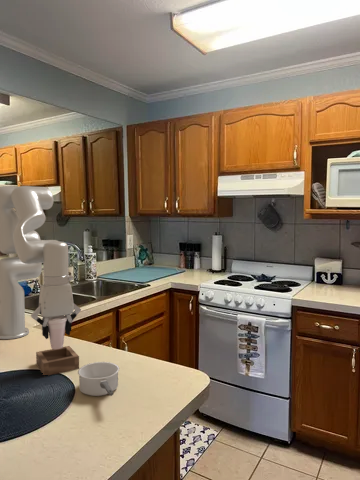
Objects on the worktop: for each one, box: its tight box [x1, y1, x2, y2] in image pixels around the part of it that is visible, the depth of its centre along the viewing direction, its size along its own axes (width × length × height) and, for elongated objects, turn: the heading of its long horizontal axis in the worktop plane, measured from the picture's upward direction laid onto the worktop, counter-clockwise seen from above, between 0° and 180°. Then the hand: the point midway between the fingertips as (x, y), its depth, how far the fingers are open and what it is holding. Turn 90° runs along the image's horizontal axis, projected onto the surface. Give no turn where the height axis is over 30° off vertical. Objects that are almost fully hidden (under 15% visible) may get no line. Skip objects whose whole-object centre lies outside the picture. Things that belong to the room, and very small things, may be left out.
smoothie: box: [47, 315, 67, 349], centre depth 116 cm, size 6×6×14 cm
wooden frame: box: [35, 345, 80, 376], centre depth 117 cm, size 11×11×4 cm
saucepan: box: [77, 361, 120, 397], centre depth 98 cm, size 12×20×6 cm, turn 25°
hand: (57, 335), depth 116 cm, fingers closed on smoothie, 6 cm apart
